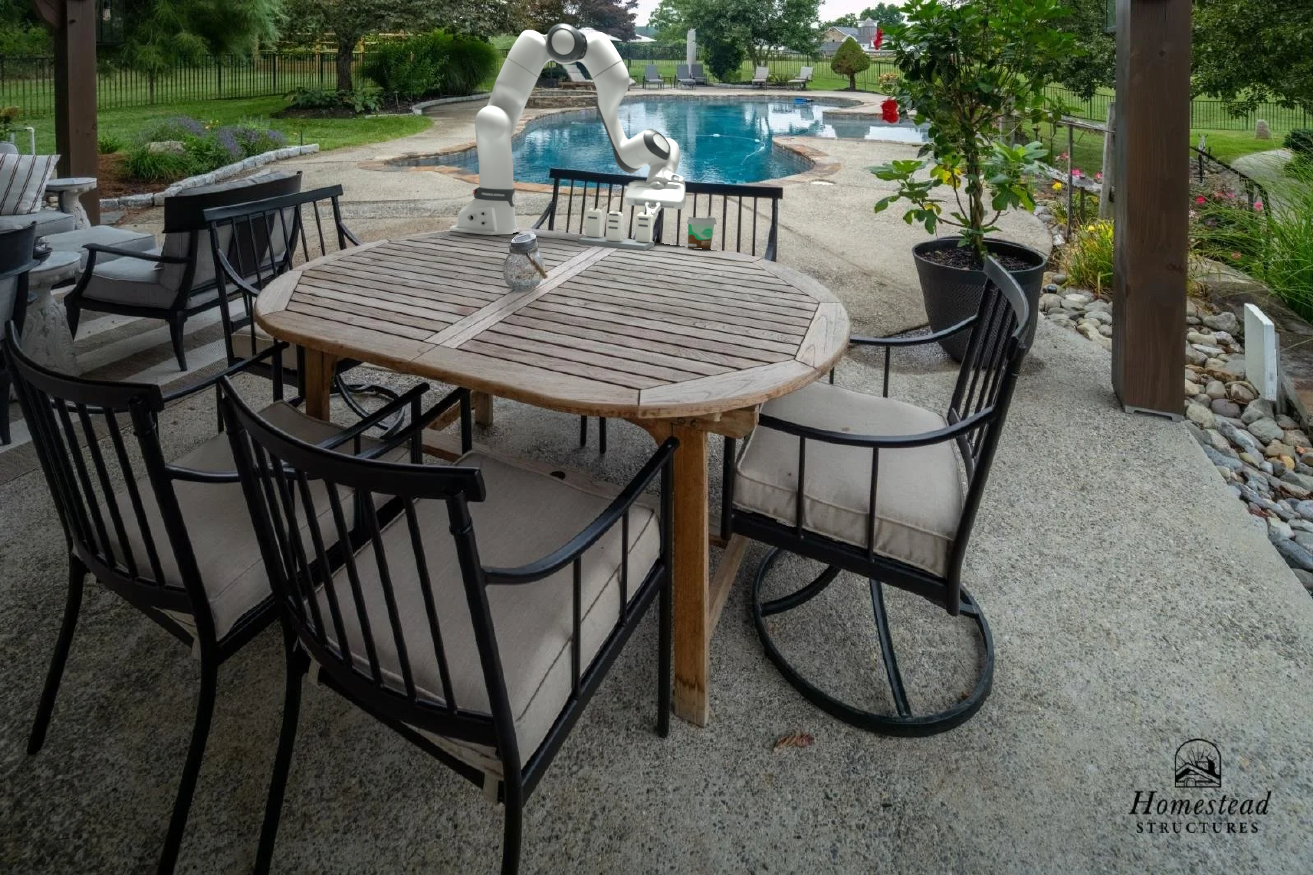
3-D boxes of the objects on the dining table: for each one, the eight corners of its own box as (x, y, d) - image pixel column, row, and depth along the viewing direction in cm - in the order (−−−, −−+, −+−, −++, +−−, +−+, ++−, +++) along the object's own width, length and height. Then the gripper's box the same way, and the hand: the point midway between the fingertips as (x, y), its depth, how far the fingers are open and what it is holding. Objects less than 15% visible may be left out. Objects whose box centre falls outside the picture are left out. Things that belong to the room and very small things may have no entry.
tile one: (584, 236, 244) (585, 208, 241) (588, 235, 247) (589, 207, 244) (598, 237, 243) (599, 209, 240) (602, 236, 246) (603, 208, 243)
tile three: (605, 240, 238) (606, 211, 235) (608, 238, 241) (609, 210, 238) (619, 241, 237) (620, 213, 234) (623, 240, 240) (624, 212, 237)
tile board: (577, 243, 239) (578, 239, 239) (590, 239, 250) (590, 235, 250) (644, 250, 235) (644, 245, 234) (654, 246, 245) (654, 241, 245)
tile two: (635, 241, 240) (636, 212, 237) (637, 239, 244) (639, 212, 240) (649, 242, 239) (651, 214, 236) (652, 241, 243) (653, 213, 239)
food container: (700, 251, 241) (703, 219, 237) (685, 248, 244) (687, 216, 241) (721, 248, 250) (724, 217, 246) (706, 246, 254) (708, 215, 250)
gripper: (628, 173, 249) (618, 206, 244) (688, 177, 245) (679, 211, 240) (631, 186, 255) (621, 219, 250) (690, 191, 251) (681, 224, 245)
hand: (650, 215), depth 245 cm, fingers closed
